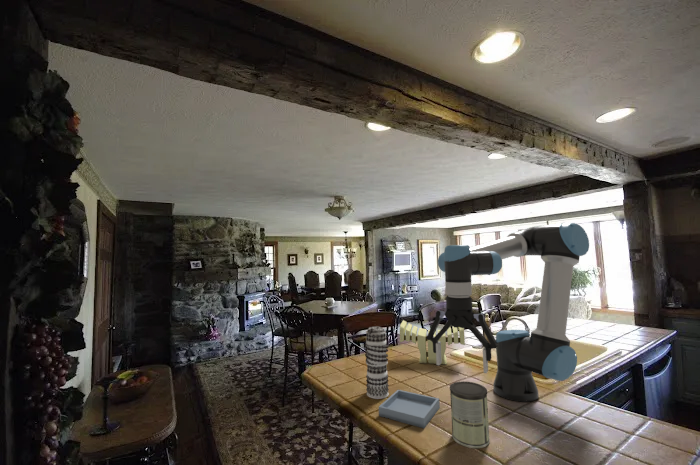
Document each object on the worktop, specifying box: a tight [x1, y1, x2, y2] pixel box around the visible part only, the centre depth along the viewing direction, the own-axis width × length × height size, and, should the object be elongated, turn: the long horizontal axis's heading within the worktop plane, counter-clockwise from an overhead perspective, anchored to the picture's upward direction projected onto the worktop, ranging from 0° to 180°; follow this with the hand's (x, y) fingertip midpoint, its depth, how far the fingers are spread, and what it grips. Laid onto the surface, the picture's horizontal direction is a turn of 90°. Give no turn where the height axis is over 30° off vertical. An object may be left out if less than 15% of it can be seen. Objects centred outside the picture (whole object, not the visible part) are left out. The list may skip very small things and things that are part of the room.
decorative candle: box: [364, 326, 390, 400], centre depth 126 cm, size 9×9×25 cm
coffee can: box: [449, 380, 490, 449], centre depth 94 cm, size 10×10×14 cm
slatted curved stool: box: [399, 319, 466, 365], centre depth 163 cm, size 30×16×18 cm, turn 74°
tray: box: [378, 389, 441, 429], centre depth 110 cm, size 16×16×3 cm
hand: (461, 367), depth 97 cm, fingers open, 13 cm apart
